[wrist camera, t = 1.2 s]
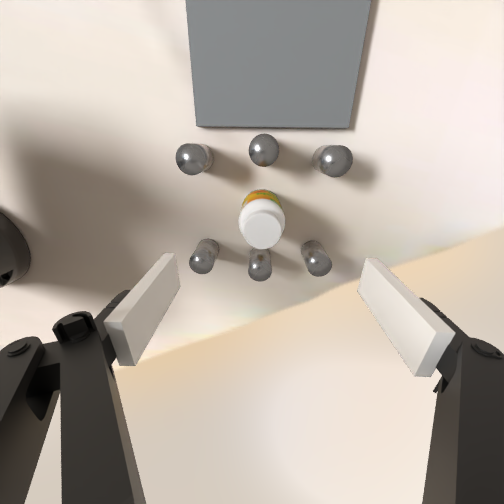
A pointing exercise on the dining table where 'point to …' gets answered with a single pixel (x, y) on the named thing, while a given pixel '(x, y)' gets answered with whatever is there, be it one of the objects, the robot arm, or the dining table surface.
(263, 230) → the supplement bottle
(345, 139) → the dining table surface
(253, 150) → the spacer field
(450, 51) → the dining table surface
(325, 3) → the slate mat
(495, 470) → the robot arm
